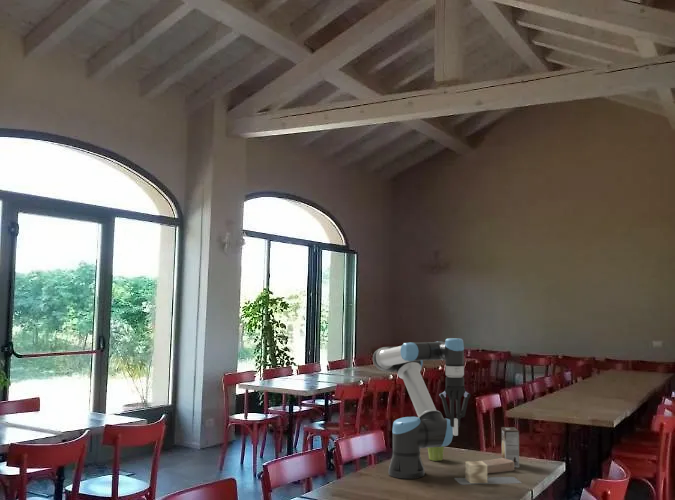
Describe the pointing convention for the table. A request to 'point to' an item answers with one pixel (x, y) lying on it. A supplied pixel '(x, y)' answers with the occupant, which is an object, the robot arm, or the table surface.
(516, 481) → the rubber mat
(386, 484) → the table surface
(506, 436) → the coffee box
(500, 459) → the brick
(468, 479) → the beech block
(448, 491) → the table surface
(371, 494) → the table surface
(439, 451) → the plant pot
